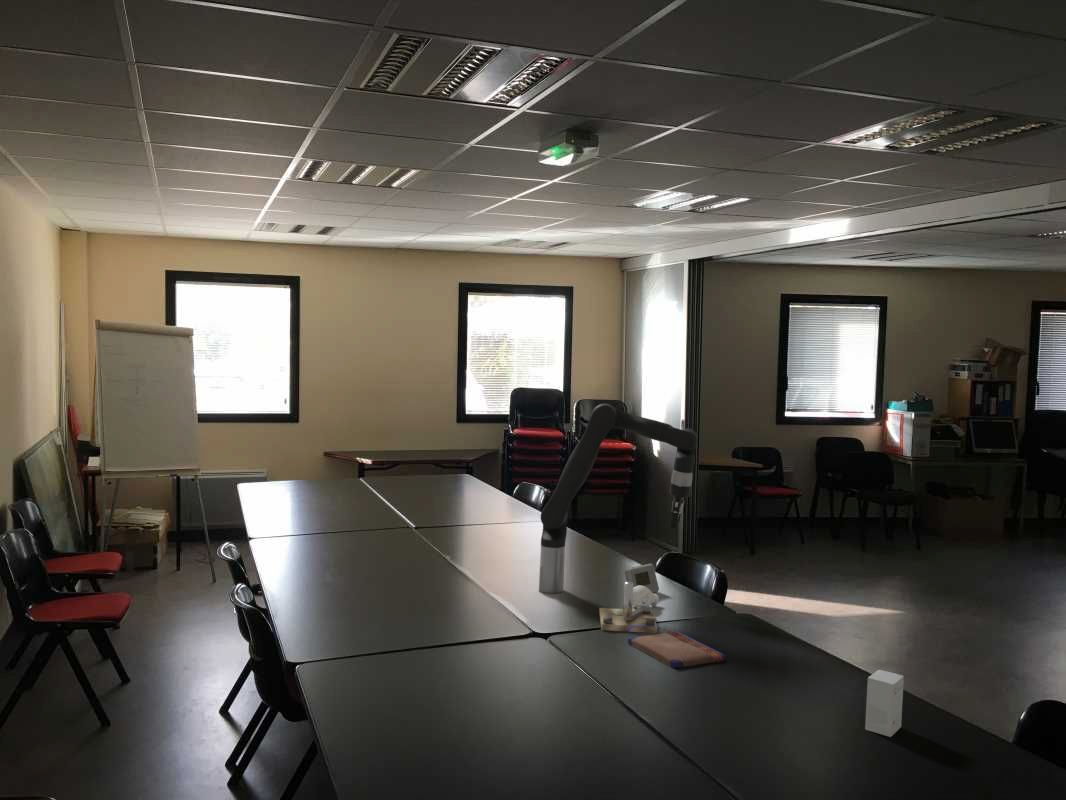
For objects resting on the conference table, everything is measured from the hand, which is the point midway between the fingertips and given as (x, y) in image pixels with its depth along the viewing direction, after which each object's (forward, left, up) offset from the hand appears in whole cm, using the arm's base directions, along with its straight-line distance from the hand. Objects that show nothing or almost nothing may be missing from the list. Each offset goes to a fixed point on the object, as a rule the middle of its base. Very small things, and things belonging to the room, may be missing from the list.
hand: (675, 524), depth 317 cm
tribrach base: (-19, -33, -28) cm, 47 cm away
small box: (+38, -108, -28) cm, 118 cm away
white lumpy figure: (-11, -14, -28) cm, 33 cm away
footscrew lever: (-16, -32, -25) cm, 44 cm away
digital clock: (-11, +3, -28) cm, 30 cm away
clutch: (-7, -58, -28) cm, 65 cm away
